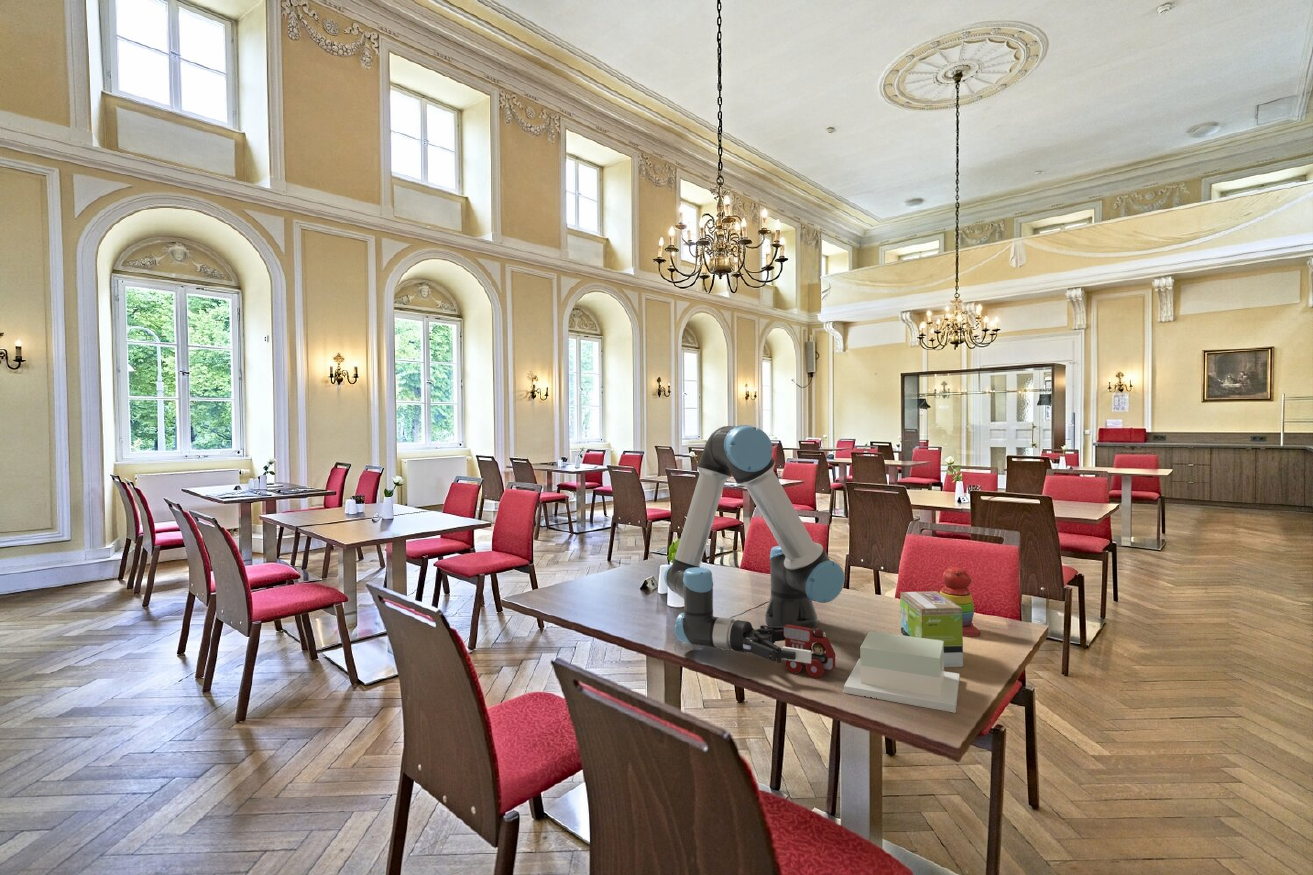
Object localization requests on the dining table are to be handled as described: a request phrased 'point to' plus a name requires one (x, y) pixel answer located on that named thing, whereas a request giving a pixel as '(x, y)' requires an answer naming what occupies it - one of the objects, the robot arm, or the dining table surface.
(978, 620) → the dining table surface
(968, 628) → the stacking bear
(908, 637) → the block on white base
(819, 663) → the toy fire truck
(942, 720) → the dining table surface
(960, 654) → the tea box
